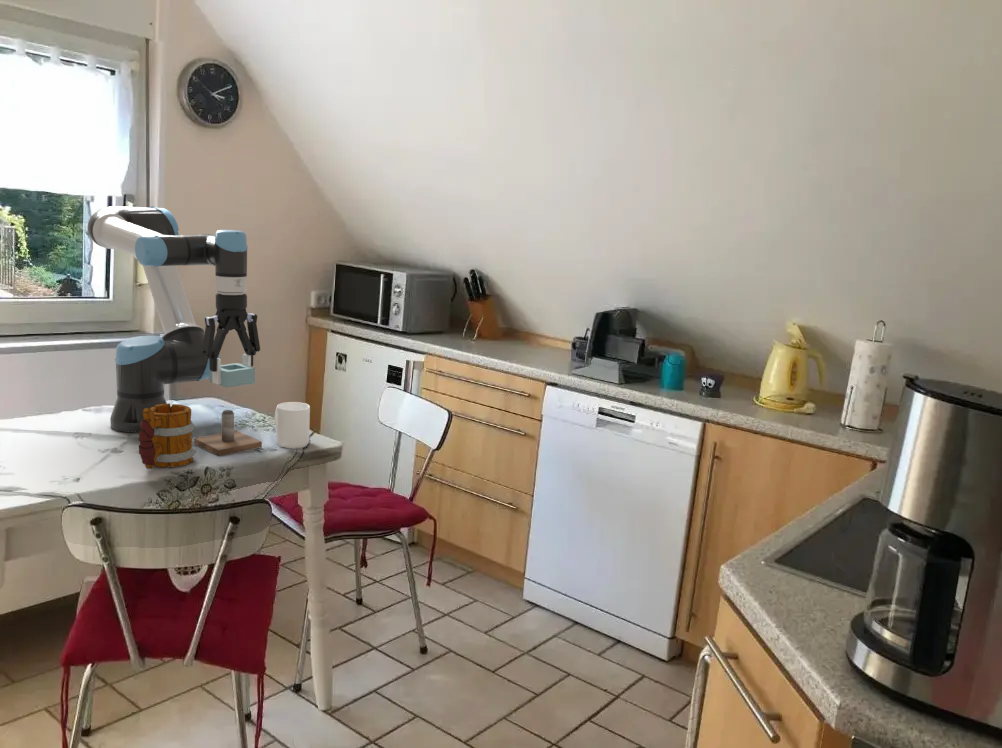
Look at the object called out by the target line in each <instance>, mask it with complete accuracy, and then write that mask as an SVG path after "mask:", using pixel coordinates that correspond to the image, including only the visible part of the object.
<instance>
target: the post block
mask: <svg viewBox="0 0 1002 748" xmlns="http://www.w3.org/2000/svg"><path fill="white" fill-rule="evenodd" d="M193 444H194V445H195V446H198V447H200V448H201V449H204V450H206V451H208V452H210V453H211V454H214V455H216V456H218V457H221V456H225V455H230V454H236V453H240V452H244V451H245V452H246V451H250V450H255V449H259V448H262V447H263V441H262V440H259V439H257V438H255V437H252V436H250V435H248V434H246V433H243V432H241V431H239V430H237V429H236V430H235V412H234V411H233V409H232V410H231V409H226V410H223V411H222V412H221V432H219V433H214V434H208V435H204V436H203V435H202V436H198V437H197V436H196V437H193Z"/></svg>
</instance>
